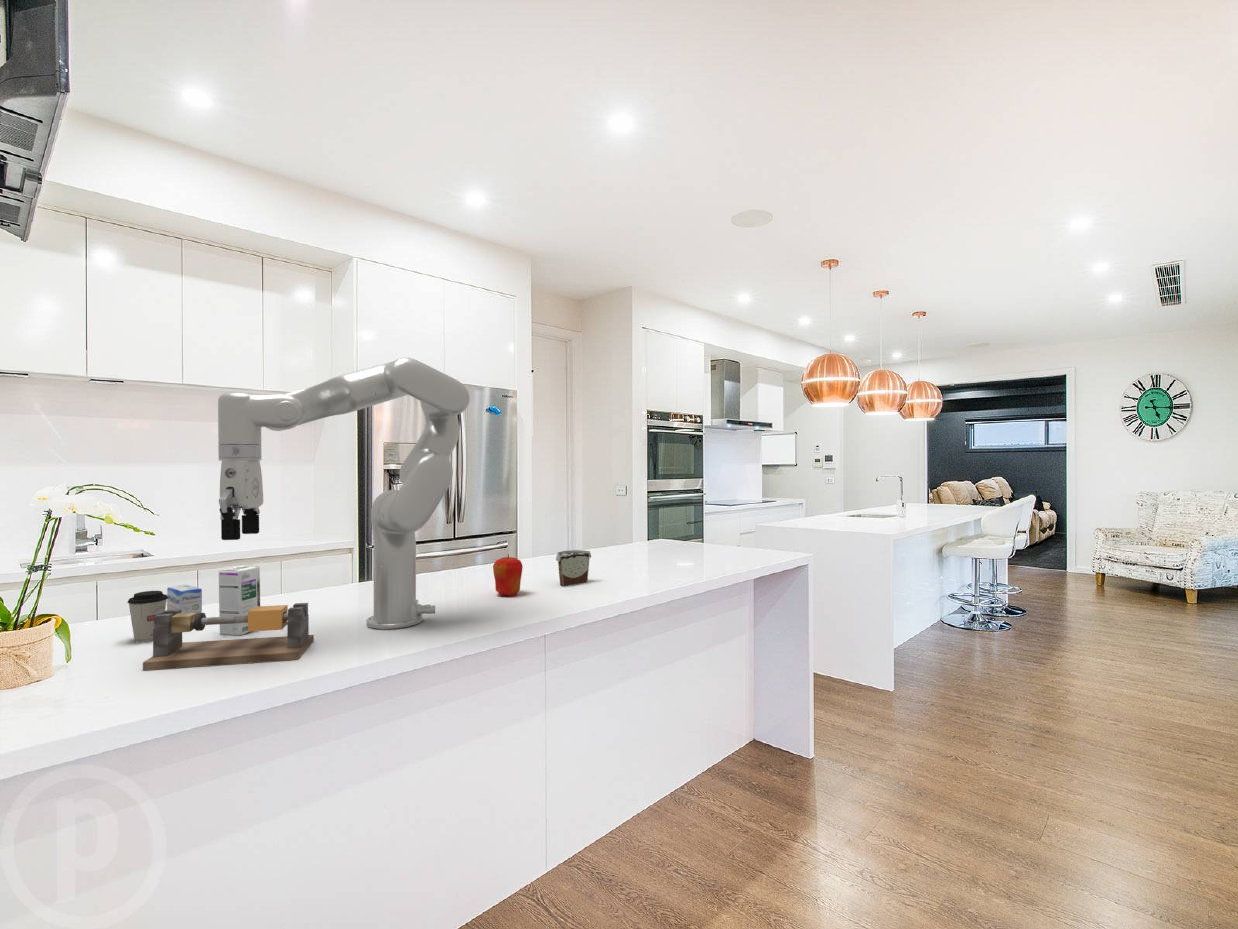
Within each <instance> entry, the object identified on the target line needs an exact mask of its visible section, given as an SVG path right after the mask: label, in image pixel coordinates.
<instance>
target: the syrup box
mask: <svg viewBox="0 0 1238 929" xmlns="http://www.w3.org/2000/svg"><path fill="white" fill-rule="evenodd" d="M260 568H261V567H260V566H257V565H238V566H235V567H230V568H225V569H220V570H218V606H219V608H218V612H219V613H218V614H219V615H218V617H229V616H248V611H249V610H251V609H252V608H254V607H256V606H261V575H260V574H261V572H260V570H261V569H260ZM247 633H249V632H248V623H234V624H219V634H220V635H224V636H225V635H227V636H243V635H245V634H247Z"/></svg>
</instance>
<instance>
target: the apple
mask: <svg viewBox="0 0 1238 929" xmlns="http://www.w3.org/2000/svg"><path fill="white" fill-rule="evenodd" d="M492 570H493V576H494V583H495V591H496V592H497V593H498V594H499V595H500V596H505V597H506V596H507V597H509V596H517V594H518V593H519V592H520V590H521V582H522V581H521V580H522V575H523V563H522V561H521V560H520V559H518V558H516V557H512V556H510V555H509V554H507V556H504V557H501V558H498V559H497V560H495V561H494V563H493V565H492Z"/></svg>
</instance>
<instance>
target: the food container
mask: <svg viewBox="0 0 1238 929" xmlns="http://www.w3.org/2000/svg"><path fill="white" fill-rule="evenodd" d="M590 558H592V553H591V551H590V550H583V549H581V550H579V549H574V550H562V551H558V552H557V554H556V558H555V561H557V564H558V575H559V576H558V577H559V585H560V587H563V588H565V587H571V586H576V585H582V584H583V585H584V584H588V583H589V582H588V581H589V570H590V568H589V567H590Z"/></svg>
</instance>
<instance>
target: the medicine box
mask: <svg viewBox="0 0 1238 929" xmlns="http://www.w3.org/2000/svg"><path fill="white" fill-rule="evenodd" d="M166 592H167V594H166V595H167V596H168V599H167V601H166V610H172V609H181V613H203V608H202V607H203V590H202V588H199V587H196V586H193V585H189V584H181V585H174V586H173V585H172V586H168V587H167V591H166Z"/></svg>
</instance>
